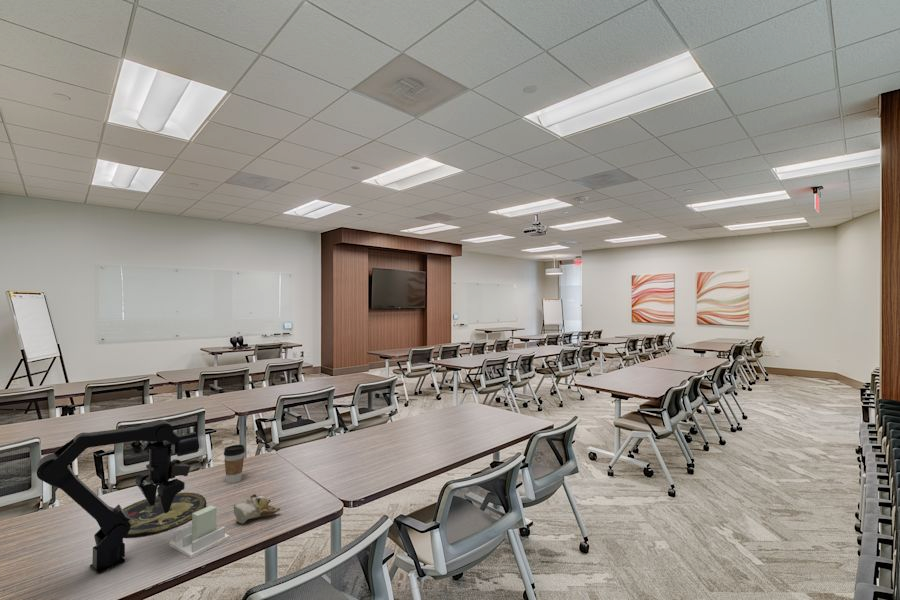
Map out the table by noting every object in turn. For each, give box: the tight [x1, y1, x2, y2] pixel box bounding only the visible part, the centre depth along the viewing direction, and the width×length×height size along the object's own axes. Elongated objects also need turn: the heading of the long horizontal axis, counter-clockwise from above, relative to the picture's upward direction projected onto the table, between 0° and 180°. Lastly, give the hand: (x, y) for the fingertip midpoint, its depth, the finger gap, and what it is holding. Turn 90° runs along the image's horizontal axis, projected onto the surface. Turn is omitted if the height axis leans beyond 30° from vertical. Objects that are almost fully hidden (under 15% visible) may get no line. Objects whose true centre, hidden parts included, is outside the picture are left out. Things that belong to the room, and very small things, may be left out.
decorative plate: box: [122, 491, 207, 539], centre depth 146 cm, size 30×2×30 cm
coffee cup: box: [223, 444, 246, 484], centre depth 175 cm, size 8×8×15 cm
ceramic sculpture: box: [233, 493, 281, 524], centre depth 144 cm, size 11×9×15 cm
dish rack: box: [168, 524, 230, 559], centre depth 129 cm, size 12×13×4 cm
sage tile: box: [191, 505, 218, 542], centre depth 127 cm, size 6×3×10 cm, turn 150°
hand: (159, 508), depth 126 cm, fingers open, 9 cm apart
